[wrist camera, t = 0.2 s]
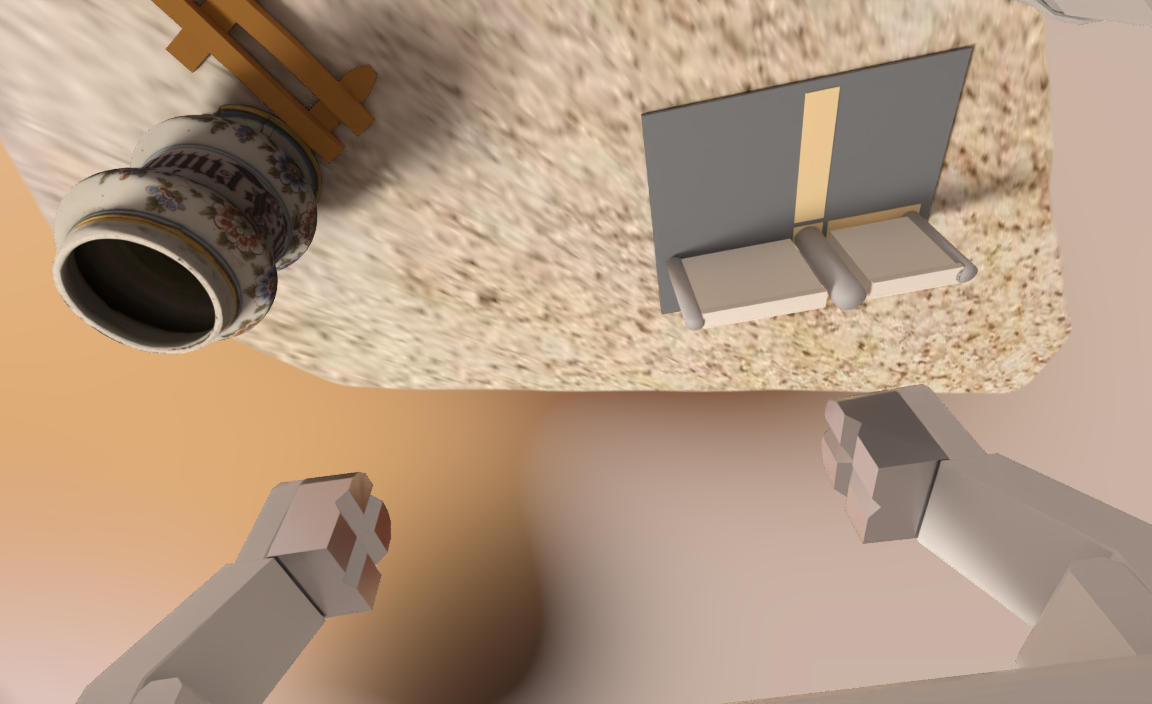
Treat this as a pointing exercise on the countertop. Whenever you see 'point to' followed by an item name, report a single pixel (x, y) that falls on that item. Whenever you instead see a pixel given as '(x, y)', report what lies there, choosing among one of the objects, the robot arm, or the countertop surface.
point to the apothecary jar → (188, 231)
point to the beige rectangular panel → (744, 285)
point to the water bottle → (1095, 10)
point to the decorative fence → (210, 36)
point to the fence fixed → (882, 259)
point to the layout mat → (799, 158)
